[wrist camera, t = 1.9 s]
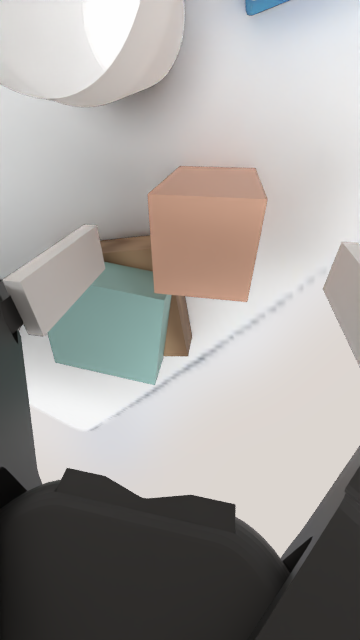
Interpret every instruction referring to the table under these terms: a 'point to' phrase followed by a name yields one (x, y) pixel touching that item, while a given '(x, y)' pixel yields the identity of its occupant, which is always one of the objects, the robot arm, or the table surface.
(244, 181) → the tall block
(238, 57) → the table surface
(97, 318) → the block top
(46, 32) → the cup
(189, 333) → the block bottom
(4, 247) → the table surface
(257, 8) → the ink box
